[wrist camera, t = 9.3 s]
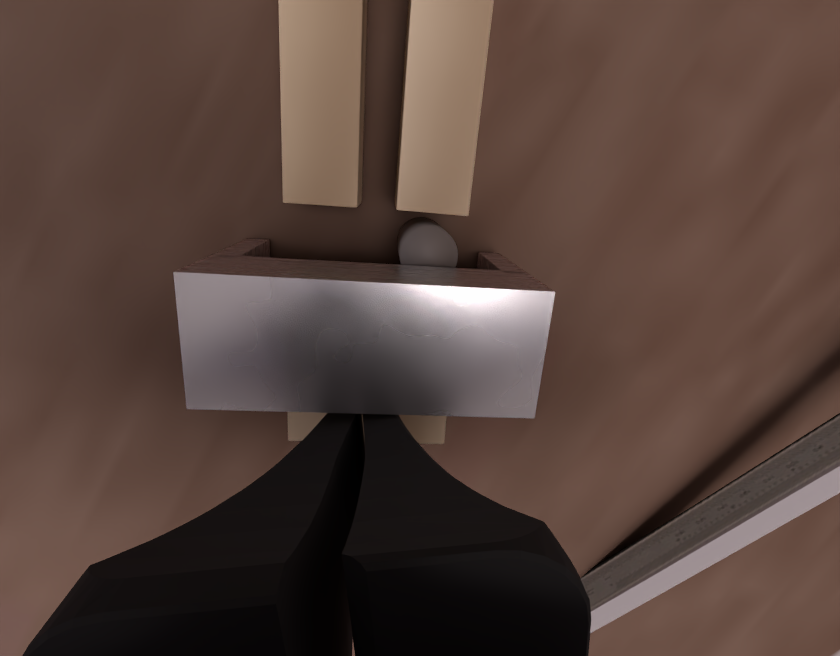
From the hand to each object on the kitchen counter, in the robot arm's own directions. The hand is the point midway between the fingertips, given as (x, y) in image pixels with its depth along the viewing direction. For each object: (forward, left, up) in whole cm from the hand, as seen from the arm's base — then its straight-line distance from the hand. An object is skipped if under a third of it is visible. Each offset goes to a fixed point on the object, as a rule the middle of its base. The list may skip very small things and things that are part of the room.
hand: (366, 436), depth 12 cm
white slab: (0, +3, -3) cm, 4 cm away
